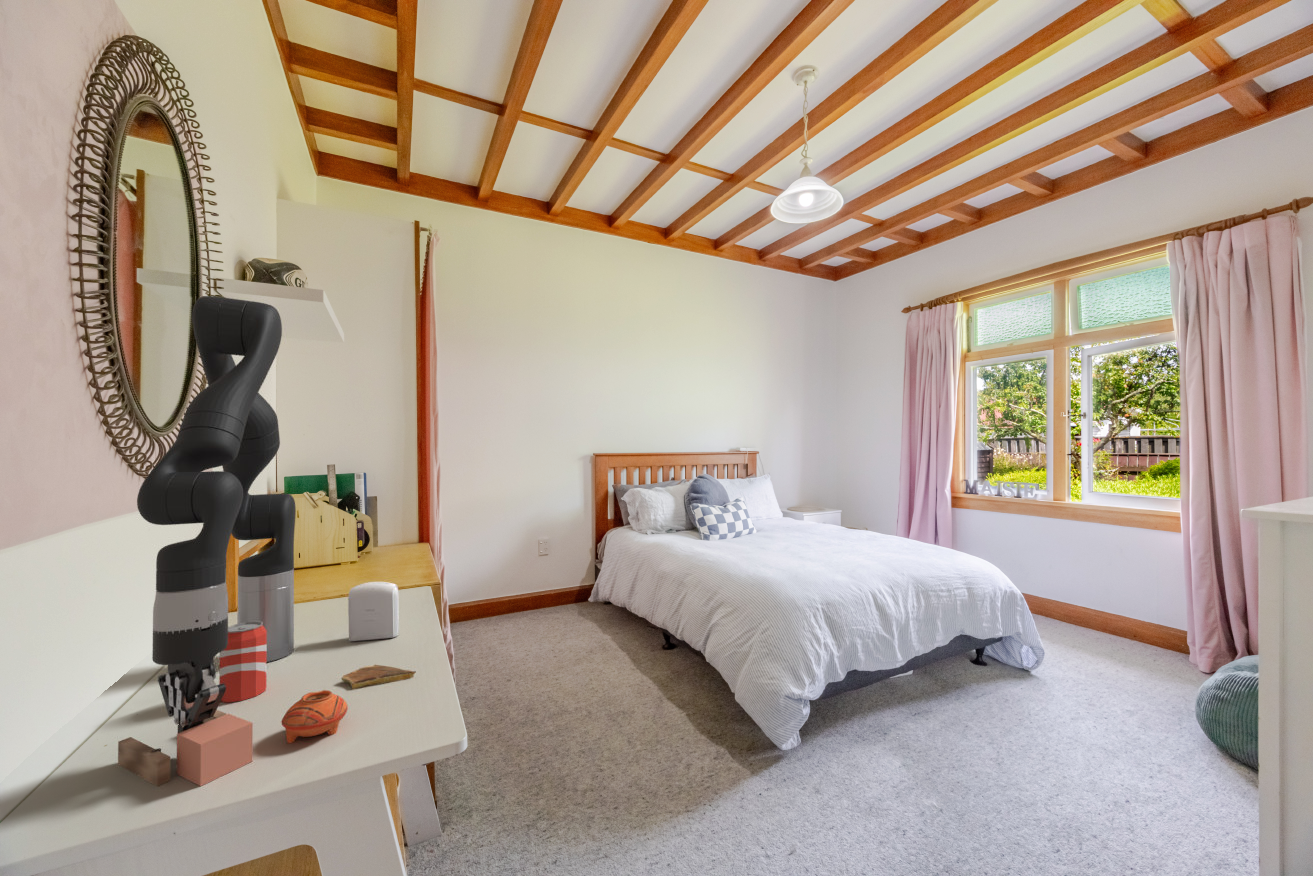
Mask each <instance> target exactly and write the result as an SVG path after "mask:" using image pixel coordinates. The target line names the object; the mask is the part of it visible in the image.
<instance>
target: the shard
mask: <svg viewBox="0 0 1313 876" xmlns="http://www.w3.org/2000/svg"><path fill="white" fill-rule="evenodd" d="M415 673H417V672H416V670H415V671H413V670H409V669H408V670H407V669H402V668H398V667H393V666H386V665H381V664H373V665H367V666H363V667H361V668H358V669H356V670H354V671H352V672H349V673H346V674H344V675H342V677H341V678H340V679H341V681H343V682H344V683H347V684H350V686H351V689H352V690H356V689H359V688H363V687H368V686H373V685H374V686H376V685H379V684H380V685H381V684H387V683H392V682H398V681H403V680H407V679H411V678H414V675H415Z"/></svg>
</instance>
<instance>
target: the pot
mask: <svg viewBox="0 0 1313 876" xmlns="http://www.w3.org/2000/svg"><path fill="white" fill-rule="evenodd" d="M348 709H349V707H348V704H347V701H346V700H345V699H344V698H343V697H341V696H339V695H337V694H334V693H333V691H331V690H326V689H324V690H320V691H312V692H307V693H306V694H304V695H303V696H302V697H301V698H300V699H299V700H297V701H296V702H294V703H293V704H292V705H291V706H290V707H289V709H287V711H286V712H285V714H284V715H283V717H282V719H281V726H282V727H283V728H284V729H285V735H286V736H285V737H286V742H287V744H293V743H294V742H295V741H296V739H297V738H298V737H304V738H306V737H315V736H318V735H322V734H324V733H328V735H329V736H332V735H336V733H337V731H338V728H339V724H340V721H342V720H343V718H344V717H345V715H346V714H347V713H348Z"/></svg>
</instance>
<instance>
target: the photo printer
mask: <svg viewBox="0 0 1313 876" xmlns="http://www.w3.org/2000/svg"><path fill="white" fill-rule="evenodd" d="M348 592H349V593H348V597H347V598H348V600H347V602H348V603H347V605H348V606H347V607H348V610H347V611H348V613H347V614H348V640H349V641H350V642H356V641H357V642H359V641H370V640H381V639H382V640H383V639H392V638H396V637H397V636H399V634H400V619H399V617H400V616H399V615H400V613H399V611H400V610H399V609H400V608H399V587H398V584H395V583H393V582H387V581H369V582H364V583H361V584H358V585H355V586H353V587H352V588H350V589H349V591H348ZM349 641H348V642H349Z"/></svg>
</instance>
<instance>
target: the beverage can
mask: <svg viewBox="0 0 1313 876" xmlns="http://www.w3.org/2000/svg"><path fill="white" fill-rule="evenodd" d="M262 624H263V622H258V621H254V622H245V623H240V624H237V623H236V624H233V625H229V626H228V645H227V647H226V648H225V649H224V650H223V651H222V652H219V673H218V674H219V676H218V677H219V678H218V679H219V684H222V683H224V684H225V686H226V691H225V693H224V695H223V697H222V699H221V701H220V702H224V703H235V702H242V701H246V700H248V699H251V698H255V697H257V696H259V695H260V694H262V693H264V692H265V691H266V690H267V675H268V674H267V669H268V668H267V667H268V666H267V663H268V662H267V630H266V629H265V628H264V627H263V625H262ZM219 684H218V685H219Z"/></svg>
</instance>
